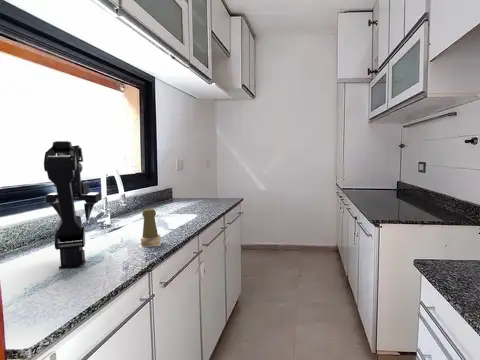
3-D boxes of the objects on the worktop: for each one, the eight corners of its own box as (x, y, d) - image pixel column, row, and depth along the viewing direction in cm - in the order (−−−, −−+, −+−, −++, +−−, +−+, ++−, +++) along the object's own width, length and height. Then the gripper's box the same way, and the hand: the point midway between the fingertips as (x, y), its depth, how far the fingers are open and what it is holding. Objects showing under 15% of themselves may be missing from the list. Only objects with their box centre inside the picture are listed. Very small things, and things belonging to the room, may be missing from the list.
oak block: (141, 246, 142) (140, 238, 142) (144, 242, 149) (144, 235, 148) (158, 245, 143) (157, 237, 142) (160, 241, 149) (160, 234, 149)
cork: (149, 238, 141) (147, 210, 140) (139, 237, 145) (137, 209, 144) (161, 235, 146) (159, 208, 145) (151, 234, 150) (149, 207, 149)
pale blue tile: (127, 250, 140) (127, 248, 140) (133, 243, 151) (133, 241, 151) (159, 248, 140) (159, 246, 140) (163, 241, 151) (163, 240, 151)
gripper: (106, 175, 141) (108, 215, 143) (58, 175, 142) (62, 214, 144) (93, 180, 130) (96, 222, 132) (42, 180, 131) (46, 222, 133)
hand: (75, 220), depth 136 cm, fingers open, 9 cm apart
